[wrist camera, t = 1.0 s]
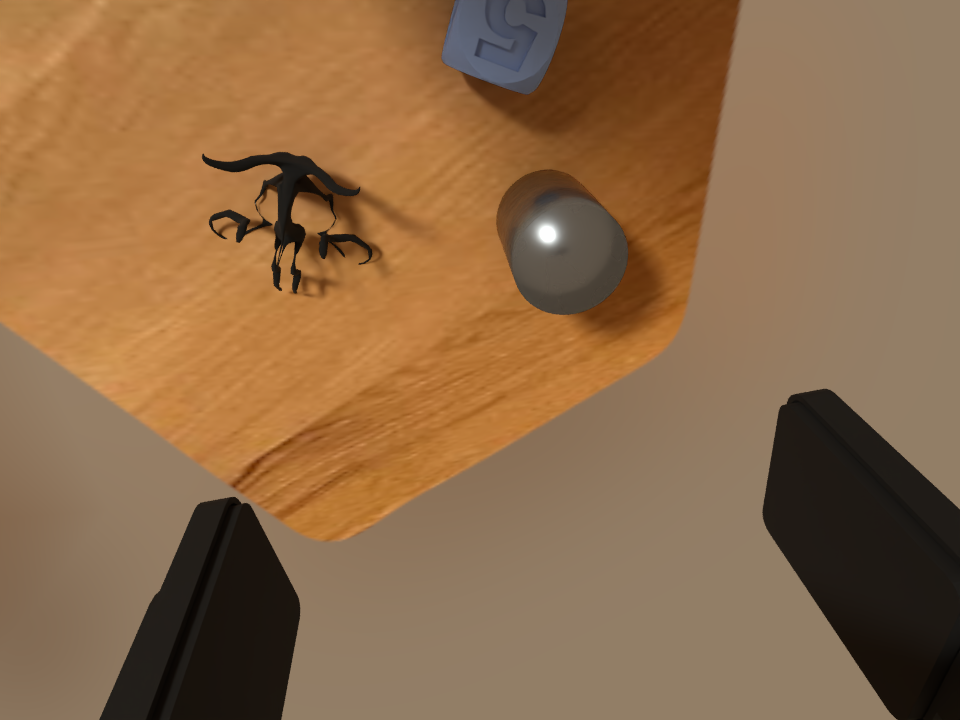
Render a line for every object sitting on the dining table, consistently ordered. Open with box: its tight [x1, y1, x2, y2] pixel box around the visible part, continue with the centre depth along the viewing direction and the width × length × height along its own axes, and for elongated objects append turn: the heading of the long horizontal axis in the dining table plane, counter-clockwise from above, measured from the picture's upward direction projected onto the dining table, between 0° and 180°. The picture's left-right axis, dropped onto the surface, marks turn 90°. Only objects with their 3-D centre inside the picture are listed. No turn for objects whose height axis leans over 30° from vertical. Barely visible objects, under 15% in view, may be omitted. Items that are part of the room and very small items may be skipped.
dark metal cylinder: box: [496, 170, 628, 315], centre depth 27 cm, size 5×5×6 cm
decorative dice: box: [442, 0, 567, 94], centre depth 23 cm, size 4×4×4 cm
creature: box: [202, 152, 372, 293], centre depth 27 cm, size 8×5×8 cm
